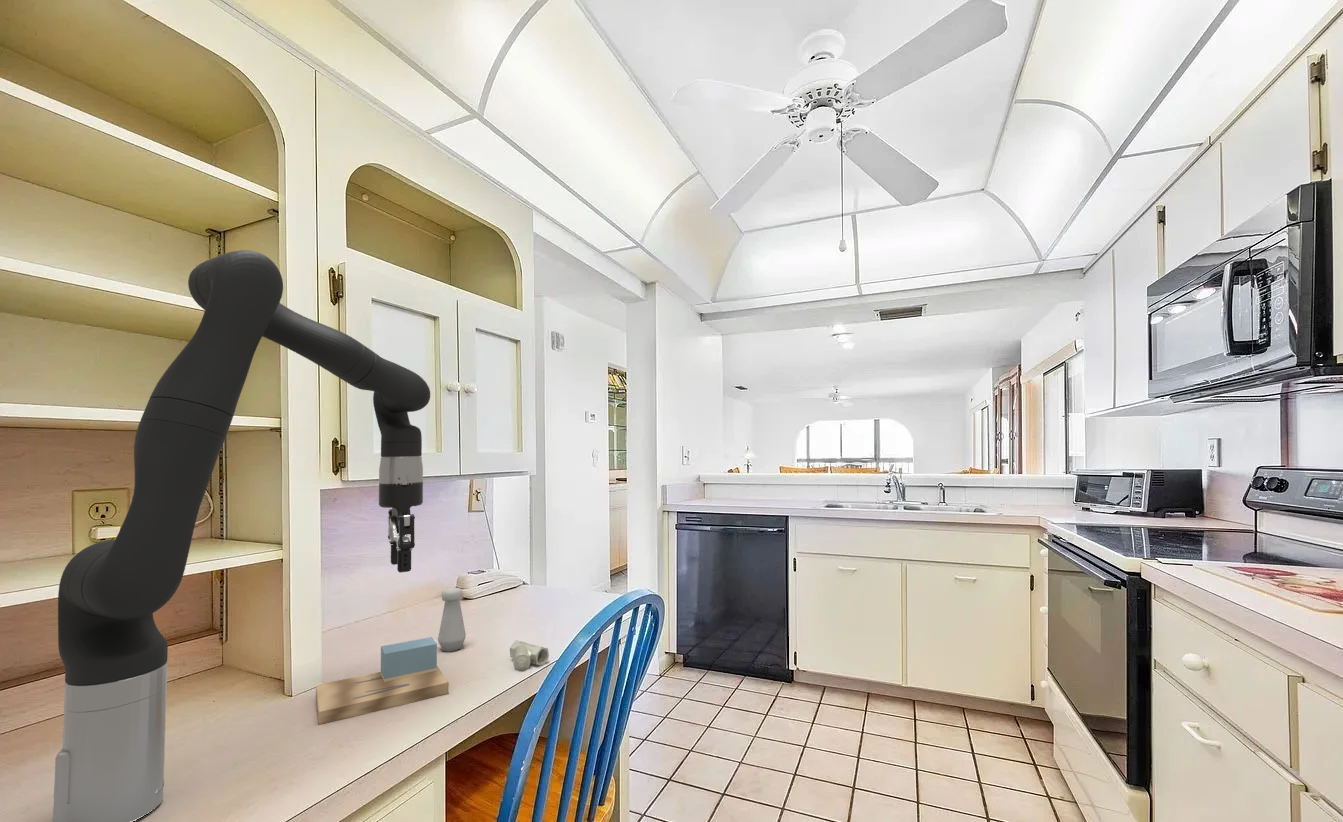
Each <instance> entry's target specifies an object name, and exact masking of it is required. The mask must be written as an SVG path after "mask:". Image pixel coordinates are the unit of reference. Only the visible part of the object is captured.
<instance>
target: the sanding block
mask: <svg viewBox="0 0 1343 822" xmlns="http://www.w3.org/2000/svg"><path fill="white" fill-rule="evenodd" d="M437 652H438V643H437V642H436V641H435V640H434V638H433V637H431V636H430V637H425V638H418V639H413V640H409V641H403V642H402V641H401V642H398V643H391V644H387V645H382V646H380V672H381V675H382V678H383V680H384V682H387V681H392V680H396V679H401V678H406V677H410V676H415V675H419V674H424V673H429V672H433V671H437V666H438V665H437V664H438V661H437V660H438V656H437V654H438V653H437Z"/></svg>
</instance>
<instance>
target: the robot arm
mask: <svg viewBox="0 0 1343 822" xmlns="http://www.w3.org/2000/svg"><path fill="white" fill-rule="evenodd" d="M283 280H284V279H283V276H282V274H281V272H280V269H279V268H278V266H277V265H276V264H275V262H274V261H273V260H272V259H271V258H269V257H268V256H267V255H265V254H263V253H260V252H258V251H254V250H247V249H246V250H241V249H240V250H233V251H229V252H226V253H223V254H220V255H217V256H215V257H214V256H213V257H212V258H210V259H206V260H205V261H203V262H200V263H199V264H198V265H196V266H195V267H194V268H193V269H192V271H191V272H189V275H188V282H187V285H188V287H187V288H188V290H189V293H190V295H191V297H192V299H193V301H194V302H196V304H197V305H198V306H199V307H201V309H203V311H204V312H203V315H202V317H201V321H200V323H199V325H198V327H197V329H196V331H195V332H194V334H193V335H192V337H191V338H190V340H189V341H188V343H187V344H186V345H185V346H184V347H183V349H181V351H180V352H179V354H178V355H177V356H176V357H175V359H174V360H173V361H172V362H171V364H170V365H168V367H167V369H166V370H165V371H164V372H163V374H162V376H160V378H159V380H158V381H157V383H156V385H155V386H154V389H152V393H151V394H150V396H149V399H148V401H147V404H146V406H145V409H144V410H143V414H142V415H141V418H140V421H139V423H138V426H137V428H136V429H137V430H136V433H135V437H134V444H133V446H134V447H133V465H134V466H133V467H134V486H133V487H134V488H133V494H132V498H131V503H130V506H129V508H128V510H127V513H126V516H125V518H124V520H123V522H122V525H121V527H120V528H119V531H118V533H117V535H116V537H115V539H109V540H102V541H100V542H96V543H93V544H90V545H89V546H87V547H85V548H83V549H82V550H80V551H79V552H78V553H76V555H74V556H73V557H72V558H71V559H70V560H69V562H67V564H66V566H65V567H64V569H63V572H62V573H61V576H60V581H59V585H58V593H57V594H58V595H57V596H58V597H57V639H58V640H57V641H58V643H57V644H58V646H57V647H58V653H59V657H60V659H61V661H62V664H63V666H64V682H65V684H64V704H63V705H64V706H63V722H62V724H63V727H62V745H61V746H62V747H61V749H60V750H59V751H58V753H57V754H56V756H55V758H54V759H55V761H54V787H53V788H54V789H53V807H52V811H53V812H52V822H130V821H133V820H135V819H137V818H139V817H141V816H143V815H145V814H147V813H148V812H150V811H151V810H153V809H154V808H156V807H157V806H158V805H159V804H160V803H161V804H162V802H163V800H164V799H163V798H164V787H165V779H164V778H165V755H166V753H165V752H166V751H165V750H166V721H167V720H166V719H167V718H166V716H167V714H166V713H167V690H168V689H167V688H168V687H167V686H168V685H167V684H168V683H167V681H168V657H169V656H168V651H169V649H168V648H169V647H168V641H167V639H166V638H165V637H164V635H163V634H162V633H161V632H160V631H159V629H158V627H157V625H156V622H155V619H154V613H155V612H157V611H159V610H160V609H161V608H163V607H165V605H166V604H167V603H169V601H170V600H171V599H172V597H173V596H174V595H175V593H176V592H177V590H178V589H179V586H180V585H181V582H182V579H183V578H184V577H183V576H184V573H185V570H186V566H187V562H188V558H189V553H190V548H191V545H192V540H193V536H194V531H195V527H196V523H197V519H198V514H199V511H200V508H201V505H202V503H203V499H204V496H205V494H206V492H207V488H208V486H209V483H210V480H211V477H212V475H213V471H214V468H215V465H216V463H217V460H218V457H219V455H220V452H221V449H222V447H223V445H224V443H225V440H226V437H227V435H228V432H229V430H230V427H231V424H232V421H233V418H234V416H235V412H236V408H237V406H238V403H239V399H240V396H241V393H242V391H243V388H244V386H245V383H246V381H247V380H246V379H247V377H248V374H249V371H250V367H251V365H252V361H253V359H254V356H255V353H256V351H257V347H258V346H259V343H260V341H261V339H262V338H264V339H268V340H270V341H271V342H274V343H275V344H278V345H280V346H282V347H283V348H286V349H288V350H290V351H292V352H294V353H296V354H298V355H300V356H301V357H303V358H305V359H307V360H309V361H311V362H312V363H314V364H315V365H317V366H319V367H321V368H322V369H324V370H325V371H327V372H329V373H330V374H332V375H334V376H336V377H338V379H340V380H342V381H344V382H345V383H347V384H349V385H350V386H352V387H354V388H356V389H359V390H361V391H369V392H373V394H372V401H373V402H372V403H373V409H374V414H375V417H376V422H377V425H378V428H379V432H380V461H379V462H380V463H379V468H378V506H379V507H380V508H385V509H386V508H387V509H388V508H389V509H388V511H387V513H388V517H387V522H388V528H387V529H388V530H387V533H388V535H387V538H388V543H389V545H390V564H391V565H396V567H397V572H398V573H409V572H411V570H412V551H413V549H414V548H415V546H416V542H415V519H416V516H415V513H414V514H413V513H412V514H411V508H412V507H417V506H422V504H423V503H424V500H423V499H424V467H423V465H424V464H423V459H422V458H423V457H422V451H423V449H422V447H423V446H422V444H423V443H422V438H423V437H422V430H421V428H420V427H418V426H416V425H413V424H411V422H410V418H409V413H410V412H413V413H414V412H418V411H420V410H423V409H424V408H425V407H426V406H427V405H428V404H429V402H430V400H431V389H430V386H429V385H428V383H427V381H425V379H424V378H423V377H421V376H420V375H419V374H418V373H416V372H414V371H412V370H411V369H409V368H406V367H404V366H401V365H400V364H398V363H395V362H394V361H392V360H391V361H390V360H388V359H386V358H383V357H381V356H380V355H379V354H378V353H376V352H374V351H373V350H371V349H370V348H369V347H367V346H365V345H364V344H363V343H361V342H360V341H358V340H357V339H355V338H354V337H352V336H351V335H349V334H347V333H344V332H342V331H340V330H338V329H335V328H333V327H330V326H329V325H326V324H323V323H321V322H318V321H316V320H312V319H311V318H308V317H306V316H304V315H302V314H301V313H299V312H296V311H294V310H292V309H291V308H288V307H287V306H286V305H284V304H283V303H281V299H282V296H283V292H284V281H283ZM162 799H163V800H162ZM161 801H162V802H161ZM161 804H160V805H161ZM160 805H159V806H160ZM159 806H158V807H159ZM158 807H157V808H158ZM157 808H156V809H157ZM153 811H154V810H153Z"/></svg>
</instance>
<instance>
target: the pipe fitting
mask: <svg viewBox="0 0 1343 822" xmlns="http://www.w3.org/2000/svg"><path fill="white" fill-rule="evenodd" d="M549 654H550V652H549V648H548V647H544V646H540V645H535V644H532V643H527V642H525V641H521V640H515V641H514V642H513V643H512V644H511V645H510V647H509V655H510V656H509V657H510V658H512V659H513V662H512V663H513V667H514V668H515V669H516V671H524V670H525V671H526V670H527V669H528V668H530V666H531V664H533V665H537V666H544V665H545V664H546V663H547V661H548V660H549V657H550V655H549Z"/></svg>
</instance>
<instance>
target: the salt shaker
mask: <svg viewBox="0 0 1343 822" xmlns="http://www.w3.org/2000/svg"><path fill="white" fill-rule="evenodd" d="M462 598H463V590H462V589H461V588H459V587H449V588H448V587H447V588H445V589H444V590H443V591H442V592H441V600H442V601H444V605H443V609H442V610H443V611H442V614H441V615H442V617H441V621H440V626H439V632H438V636H437V642H438V644H439V646H440V648H441V650H442V652H449V651H451V652H455V651H458V649H459V650H461V648H462V647H463V645H464V643H465V640H466V637H467V636H466V635H467V633H466V629H465V623H464V617H463V612H462V606H461V599H462ZM454 650H455V651H454Z"/></svg>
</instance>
